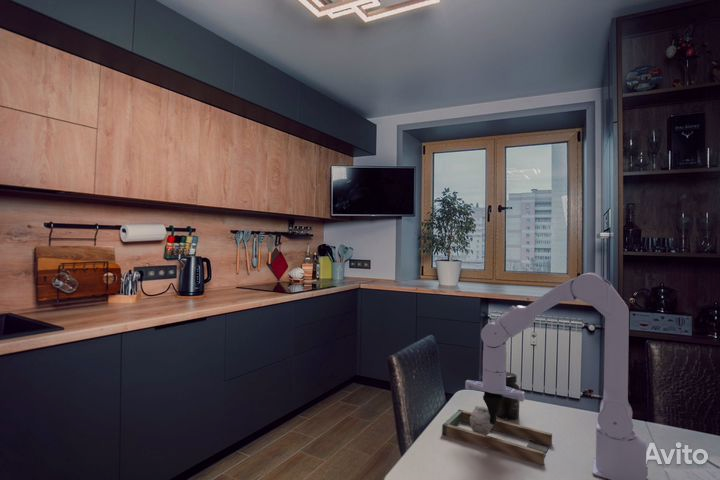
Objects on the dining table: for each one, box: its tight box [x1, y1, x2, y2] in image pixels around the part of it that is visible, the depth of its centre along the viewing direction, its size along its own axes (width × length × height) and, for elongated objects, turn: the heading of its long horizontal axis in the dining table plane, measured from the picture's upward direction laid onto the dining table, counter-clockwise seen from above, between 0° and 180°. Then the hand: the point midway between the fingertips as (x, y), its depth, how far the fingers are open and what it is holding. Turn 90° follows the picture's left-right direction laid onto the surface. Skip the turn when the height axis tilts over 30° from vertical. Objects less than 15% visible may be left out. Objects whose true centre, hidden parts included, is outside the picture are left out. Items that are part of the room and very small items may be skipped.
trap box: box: [441, 409, 553, 466], centre depth 102 cm, size 24×12×2 cm, turn 56°
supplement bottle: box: [497, 371, 521, 421], centre depth 117 cm, size 7×7×12 cm
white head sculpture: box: [469, 405, 493, 436], centre depth 104 cm, size 6×7×7 cm
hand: (493, 422), depth 102 cm, fingers closed, pressing on white head sculpture
